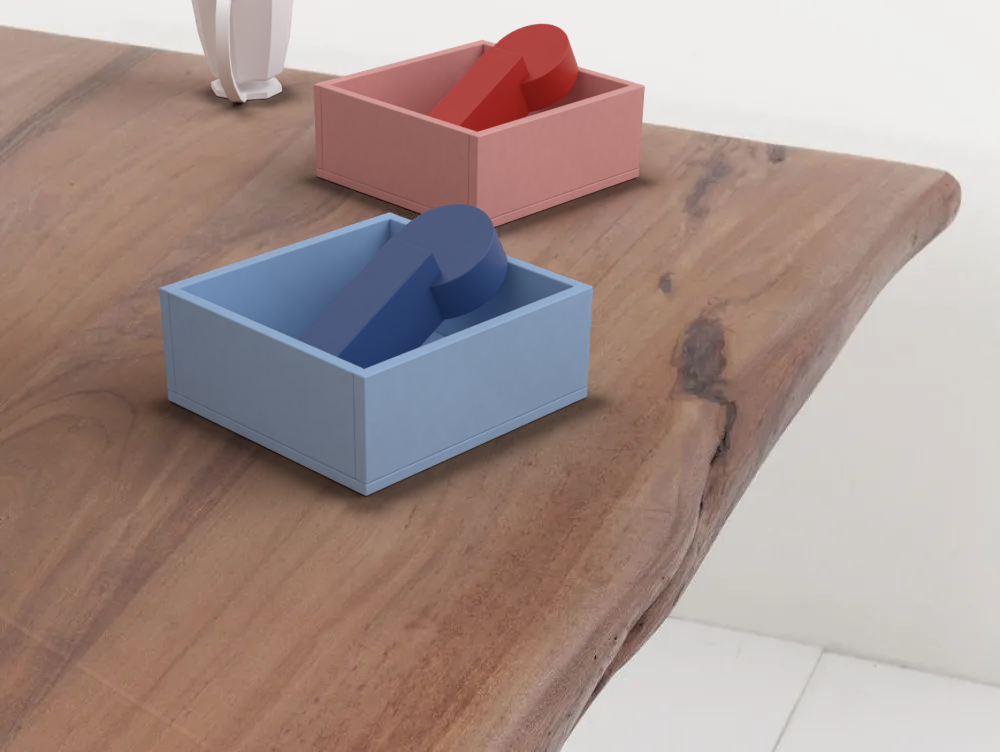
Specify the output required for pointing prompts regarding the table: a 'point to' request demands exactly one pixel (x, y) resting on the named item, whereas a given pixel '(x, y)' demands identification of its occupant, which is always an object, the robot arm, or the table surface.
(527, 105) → the red rounded block
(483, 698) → the table surface
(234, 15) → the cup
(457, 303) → the dark blue rounded block
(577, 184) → the rose bin
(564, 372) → the blue bin
